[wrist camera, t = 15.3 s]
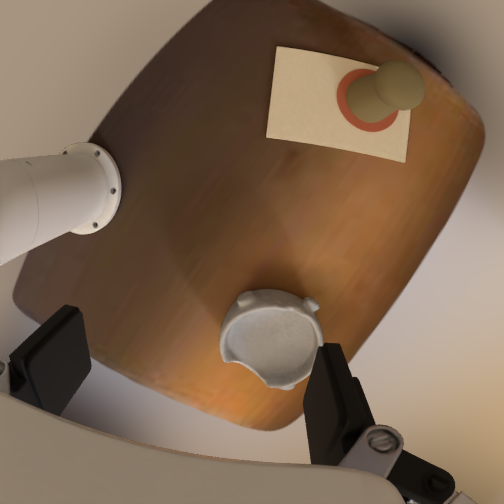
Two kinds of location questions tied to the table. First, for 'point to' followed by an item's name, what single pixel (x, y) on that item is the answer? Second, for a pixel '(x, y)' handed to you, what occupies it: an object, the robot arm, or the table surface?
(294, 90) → the placemat
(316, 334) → the dish
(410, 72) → the cork
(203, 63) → the table surface
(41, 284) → the table surface
